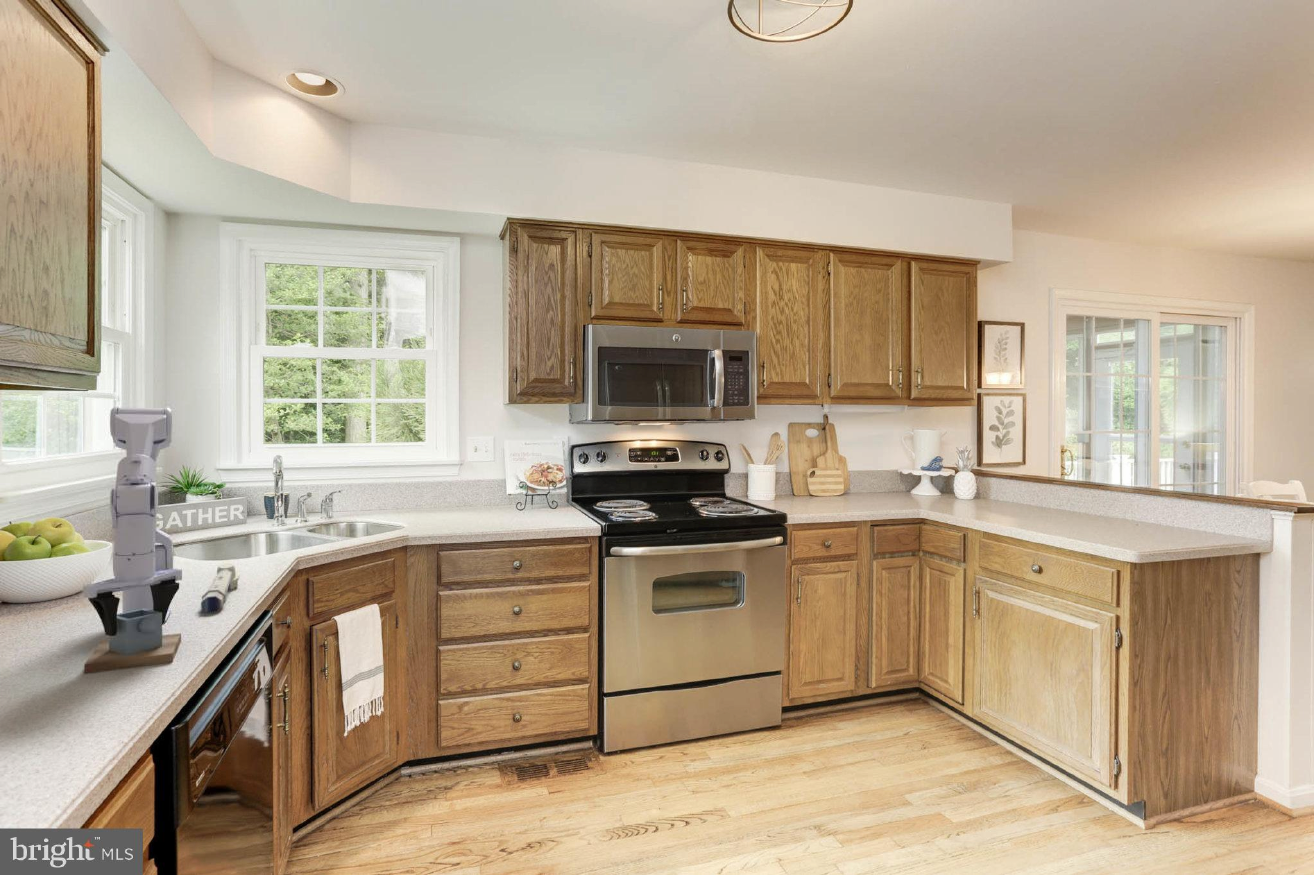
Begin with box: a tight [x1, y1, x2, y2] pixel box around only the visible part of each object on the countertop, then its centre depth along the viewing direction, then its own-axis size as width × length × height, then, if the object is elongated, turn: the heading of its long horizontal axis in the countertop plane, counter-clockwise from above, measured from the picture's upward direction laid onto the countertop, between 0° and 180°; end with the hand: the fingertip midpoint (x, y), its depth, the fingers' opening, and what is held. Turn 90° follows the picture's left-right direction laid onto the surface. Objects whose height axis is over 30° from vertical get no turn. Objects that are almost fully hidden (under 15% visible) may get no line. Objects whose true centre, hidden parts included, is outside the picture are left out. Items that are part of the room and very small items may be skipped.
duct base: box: [83, 633, 182, 674], centre depth 122 cm, size 12×12×5 cm
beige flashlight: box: [200, 562, 240, 614], centre depth 160 cm, size 5×7×25 cm
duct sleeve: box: [108, 608, 163, 655], centre depth 121 cm, size 8×6×6 cm
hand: (135, 628), depth 122 cm, fingers open, 7 cm apart
